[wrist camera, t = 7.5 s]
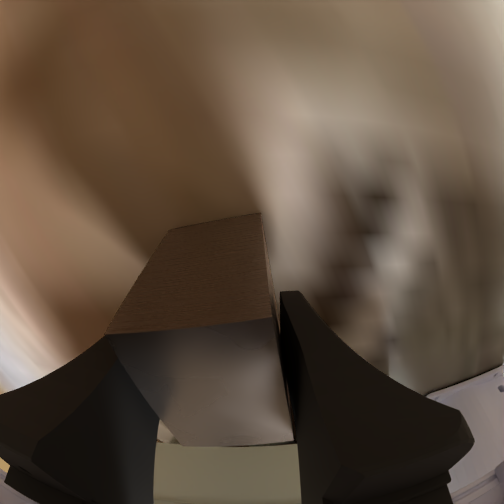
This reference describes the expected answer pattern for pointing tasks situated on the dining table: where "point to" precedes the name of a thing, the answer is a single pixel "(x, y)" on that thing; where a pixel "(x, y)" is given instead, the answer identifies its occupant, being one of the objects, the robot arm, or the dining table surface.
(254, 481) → the pale green rectangular block
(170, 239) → the dark grey long block
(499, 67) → the dining table surface
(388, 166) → the dining table surface
